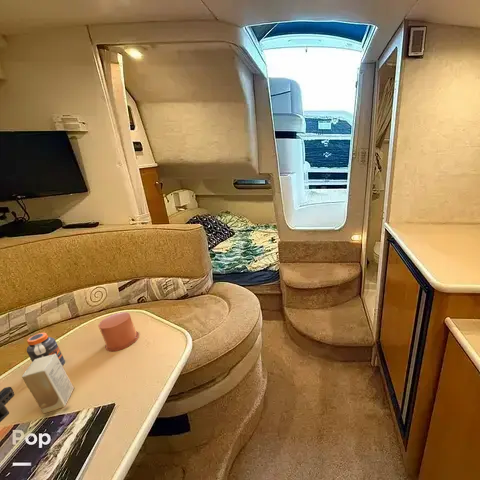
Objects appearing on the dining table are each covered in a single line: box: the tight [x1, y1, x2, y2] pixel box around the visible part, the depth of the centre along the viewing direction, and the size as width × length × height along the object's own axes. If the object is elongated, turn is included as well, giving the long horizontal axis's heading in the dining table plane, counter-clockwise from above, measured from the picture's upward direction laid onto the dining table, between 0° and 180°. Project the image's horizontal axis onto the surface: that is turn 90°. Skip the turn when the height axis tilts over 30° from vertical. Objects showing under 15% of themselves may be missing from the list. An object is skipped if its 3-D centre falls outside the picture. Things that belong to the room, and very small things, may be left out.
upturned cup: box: [97, 311, 140, 353], centre depth 88 cm, size 9×9×9 cm
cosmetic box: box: [21, 354, 75, 414], centre depth 67 cm, size 6×4×12 cm
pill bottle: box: [26, 332, 66, 367], centre depth 78 cm, size 6×6×11 cm
